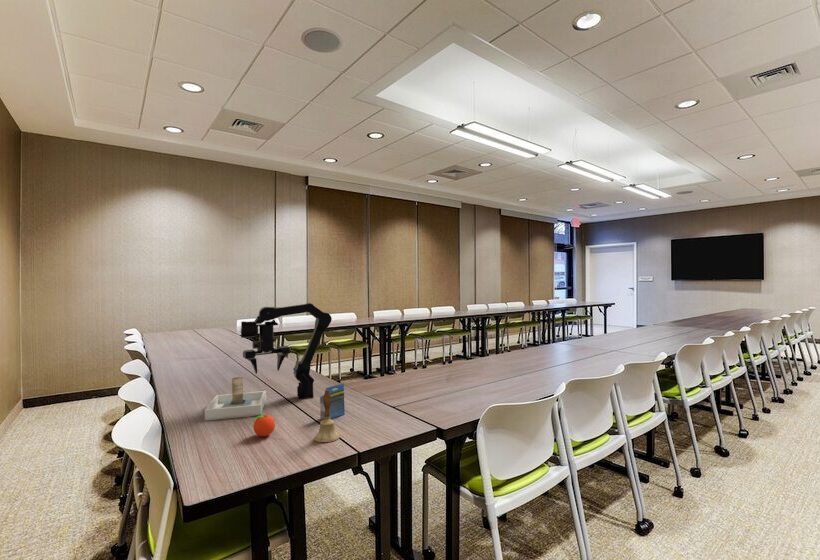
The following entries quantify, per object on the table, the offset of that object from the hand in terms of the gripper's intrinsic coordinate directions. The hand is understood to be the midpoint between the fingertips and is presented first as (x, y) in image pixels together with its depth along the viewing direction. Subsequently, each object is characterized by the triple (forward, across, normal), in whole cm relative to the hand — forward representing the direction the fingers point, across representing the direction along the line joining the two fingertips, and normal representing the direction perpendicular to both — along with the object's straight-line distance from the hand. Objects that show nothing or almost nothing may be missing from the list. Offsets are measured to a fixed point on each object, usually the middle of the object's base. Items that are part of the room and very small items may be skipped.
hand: (267, 371), depth 171 cm
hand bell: (+13, -6, +52) cm, 54 cm away
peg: (+12, +13, +3) cm, 18 cm away
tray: (+13, +13, +3) cm, 18 cm away
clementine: (+13, +12, +37) cm, 41 cm away
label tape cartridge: (+13, -15, +34) cm, 40 cm away
